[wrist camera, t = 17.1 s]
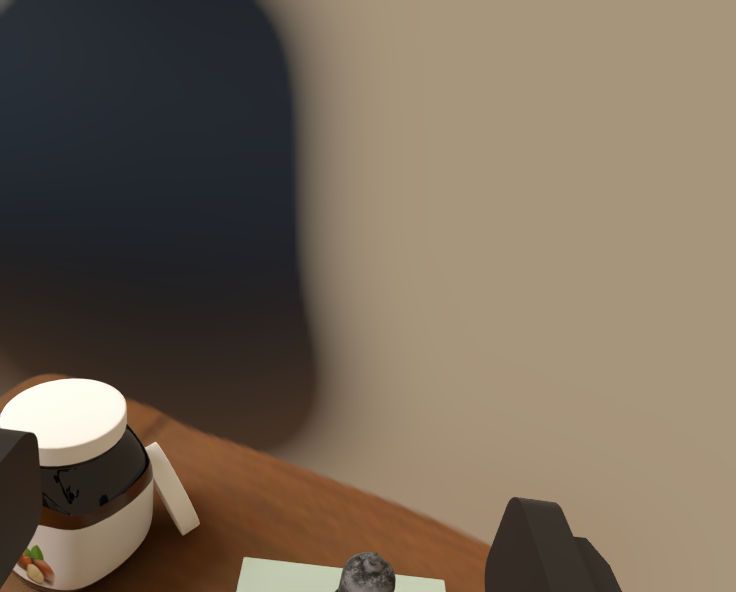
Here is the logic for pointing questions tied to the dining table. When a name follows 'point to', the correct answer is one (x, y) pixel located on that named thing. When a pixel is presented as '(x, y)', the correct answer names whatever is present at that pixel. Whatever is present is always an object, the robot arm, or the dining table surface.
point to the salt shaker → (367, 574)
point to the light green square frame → (312, 578)
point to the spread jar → (90, 484)
